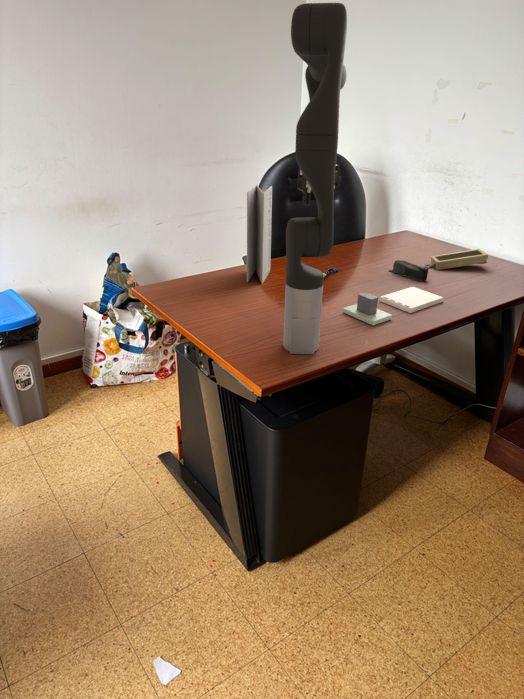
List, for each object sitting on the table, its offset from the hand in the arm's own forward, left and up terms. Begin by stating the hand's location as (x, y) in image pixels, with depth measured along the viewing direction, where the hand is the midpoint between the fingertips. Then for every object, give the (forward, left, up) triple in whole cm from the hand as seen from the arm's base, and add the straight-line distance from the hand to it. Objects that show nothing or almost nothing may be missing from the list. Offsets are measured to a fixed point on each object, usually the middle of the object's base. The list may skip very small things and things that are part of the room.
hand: (317, 204), depth 152 cm
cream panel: (+2, -32, -30) cm, 44 cm away
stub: (-11, -16, -30) cm, 35 cm away
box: (+38, -56, -30) cm, 75 cm away
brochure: (+23, +17, -30) cm, 42 cm away
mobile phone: (+27, -36, -30) cm, 55 cm away
